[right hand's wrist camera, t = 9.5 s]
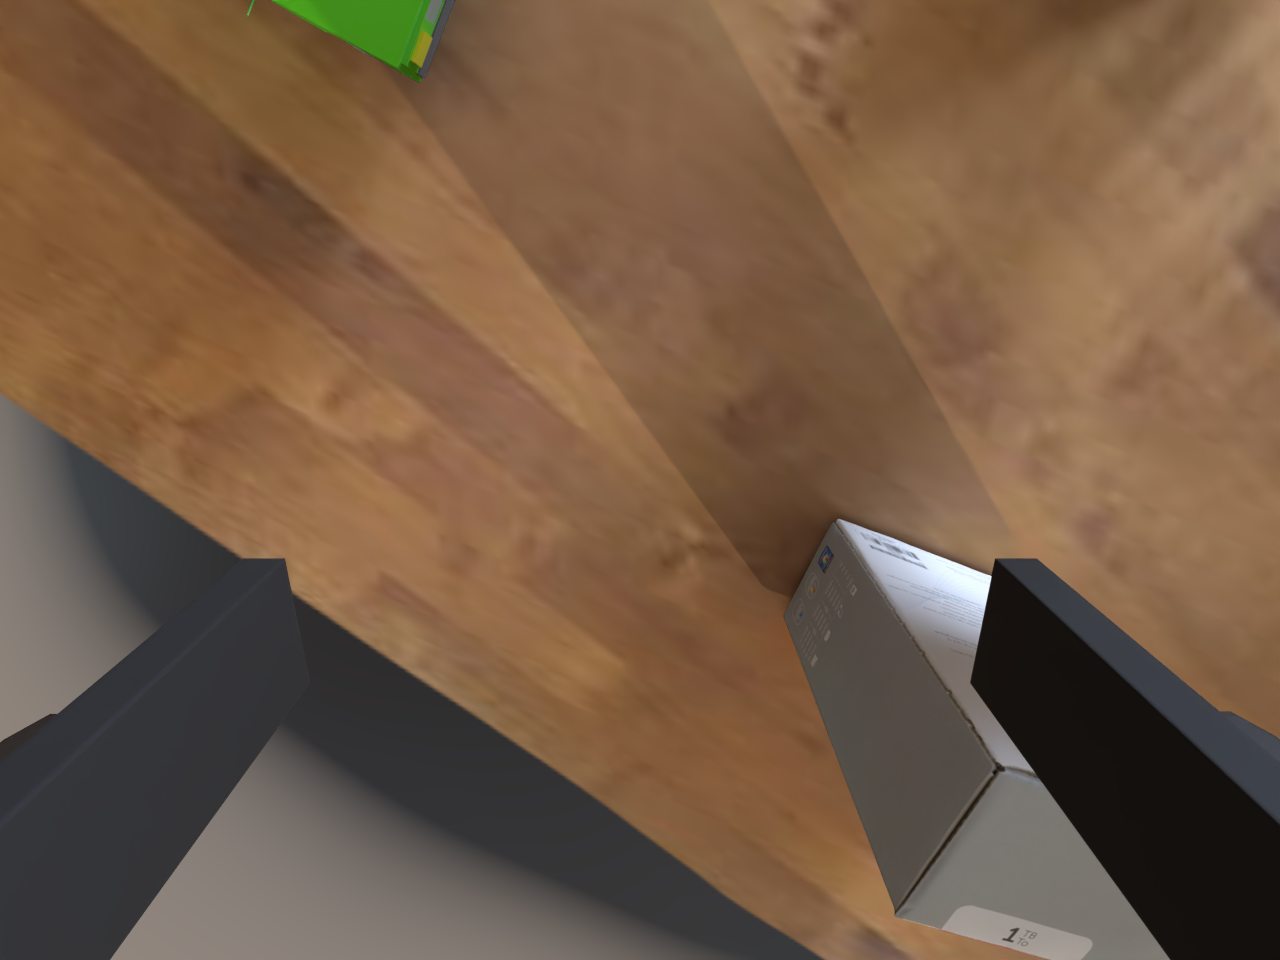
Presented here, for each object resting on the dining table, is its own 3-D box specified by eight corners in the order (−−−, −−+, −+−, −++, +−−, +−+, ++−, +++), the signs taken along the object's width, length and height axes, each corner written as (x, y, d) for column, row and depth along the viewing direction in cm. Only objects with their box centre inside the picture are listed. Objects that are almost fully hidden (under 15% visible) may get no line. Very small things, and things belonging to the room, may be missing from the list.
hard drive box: (778, 617, 43) (884, 917, 24) (833, 513, 41) (998, 758, 22) (991, 690, 45) (1241, 1020, 26) (1056, 596, 42) (1383, 885, 24)
